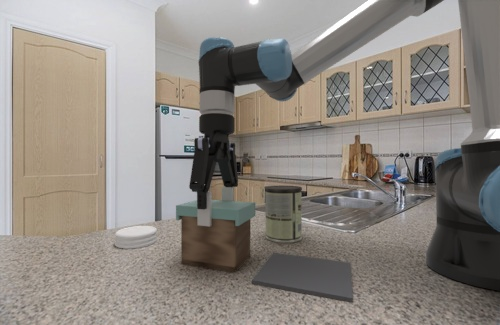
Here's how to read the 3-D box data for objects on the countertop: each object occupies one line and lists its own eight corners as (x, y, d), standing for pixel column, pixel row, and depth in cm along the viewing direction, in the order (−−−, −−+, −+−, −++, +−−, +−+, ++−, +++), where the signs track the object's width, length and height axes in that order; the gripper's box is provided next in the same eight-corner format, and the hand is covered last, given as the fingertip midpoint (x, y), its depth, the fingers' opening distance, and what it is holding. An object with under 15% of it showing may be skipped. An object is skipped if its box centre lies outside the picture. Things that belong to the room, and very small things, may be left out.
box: (250, 256, 54) (250, 211, 54) (234, 272, 46) (234, 219, 46) (203, 249, 58) (203, 208, 58) (181, 263, 50) (181, 215, 50)
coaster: (136, 236, 70) (136, 223, 70) (164, 239, 67) (165, 227, 67) (105, 247, 61) (105, 233, 61) (136, 251, 58) (136, 237, 58)
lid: (255, 215, 54) (255, 202, 54) (238, 226, 45) (238, 209, 45) (201, 211, 59) (201, 199, 59) (175, 220, 50) (175, 205, 50)
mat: (350, 265, 49) (350, 262, 49) (352, 302, 36) (352, 298, 36) (273, 255, 55) (273, 252, 55) (251, 283, 42) (251, 280, 42)
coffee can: (265, 231, 74) (265, 185, 74) (300, 232, 73) (299, 185, 73) (264, 242, 64) (264, 188, 64) (304, 243, 63) (304, 189, 63)
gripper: (224, 124, 64) (224, 209, 64) (168, 105, 43) (168, 231, 43) (251, 122, 61) (251, 211, 61) (204, 101, 41) (205, 235, 40)
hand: (217, 219), depth 52 cm, fingers closed on lid, 9 cm apart
